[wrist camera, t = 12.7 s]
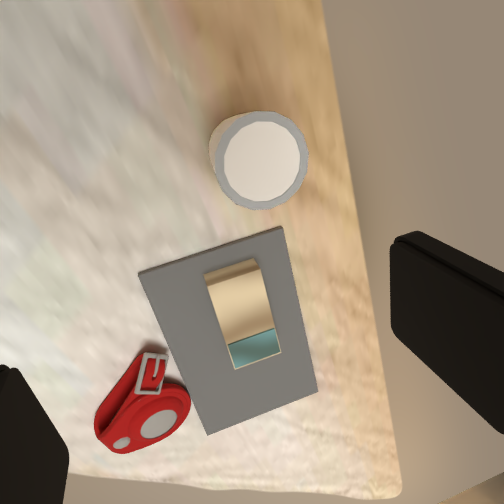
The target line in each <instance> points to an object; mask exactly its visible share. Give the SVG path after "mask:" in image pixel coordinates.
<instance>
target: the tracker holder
mask: <svg viewBox="0 0 504 504" xmlns="http://www.w3.org/2000/svg"><path fill="white" fill-rule="evenodd" d="M168 357H169V356H168V355H166V354H157V353H148V352H145V353H144V354H141V355H139V356H138V357H137V358H136V359H135V361H134V362H133V363H132V364H131V366H130V367H129V369H128V370H127V371H126V373H125V374H124V375H123V377H122V378H121V379H120V381H119V382H118V383H117V385H116V386H115V387H114V389H113V390H112V391H111V393H110V394H109V395H108V397H107V398H106V399H105V401H104V402H103V403H102V404H101V406H100V407H99V409H98V411H97V413H96V416H95V419H94V430H95V434H96V437H97V438H98V440H100V441H101V442H102V443H103V444H104V445H105V446H106V447H108V448H109V449H110V450H111V451H112V452H115V453H119V454H126V453H130V452H133V451H136V450H139V449H142V448H144V447H147V446H149V445H152V444H154V443H156V442H158V441H161V440H163V439H164V438H166V437H168V436H169V435H171V434H172V433H173V432H174V431H175V430H177V429H178V428H179V426H180V425H181V424H182V423H183V422H184V420H185V419H186V417H187V415H188V413H189V411H190V407H191V399H190V397H189V395H188V393H187V392H186V390H185V389H184V388H183V387H181V386H179V385H177V384H171V383H165V384H162V383H163V379H164V374H165V370H166V366H167V361H168ZM126 398H127V399H126ZM124 401H125V402H124ZM123 402H124V403H123ZM122 404H123V405H122ZM121 405H122V406H121ZM120 407H121V408H120ZM119 408H120V409H119ZM118 409H119V411H118ZM117 411H118V412H117ZM116 412H117V414H116V416H115V417H114V419H113V420H112V422H111V423H110V421H111V419H112V418H113V416H114V415H115V413H116ZM109 424H110V425H109Z"/></svg>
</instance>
